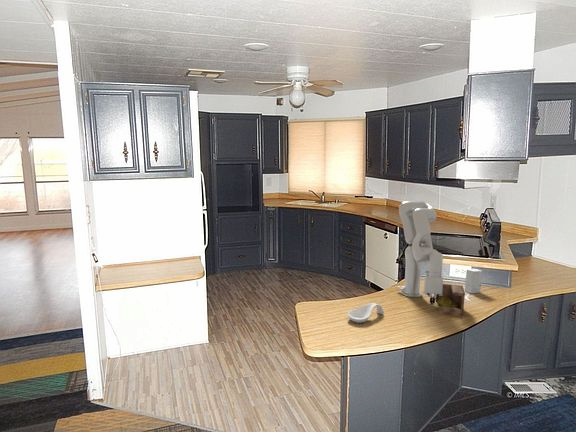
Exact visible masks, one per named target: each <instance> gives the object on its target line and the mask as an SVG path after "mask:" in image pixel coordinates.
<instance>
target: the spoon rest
mask: <svg viewBox="0 0 576 432" xmlns="http://www.w3.org/2000/svg"><path fill="white" fill-rule="evenodd" d="M375 307H376V313H378V314H379V315H381V314H382V315H384V314H385V313H384V309H383V307H382V305H380V304H377V303H375V302H370V303H367V304H366V305H363V306H360V307H358V308H355V309H352V310H350V311H348V313H347V317H348V318H349V320H351V321H352V322H354V323H357V324H359V323H360V324H361V323H362V322H363V323H365V322H366V321H368V320H369V319H370V317H371V315H372V312H373V310H374V309H375Z"/></svg>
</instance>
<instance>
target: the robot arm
mask: <svg viewBox="0 0 576 432" xmlns="http://www.w3.org/2000/svg"><path fill="white" fill-rule="evenodd" d="M398 214H399V217H400V221H401V223H402V227H403V228H402V229H403V233H404V234H403V235H404V239H405V242H406V244H409V246H407V247H406V248H405V249H404V250H405V251H404V253H405V254H404V255H405V256H404V257H405V271H404V274H405V275H404V285H402V286H400V285H397V286H396V290H398V291H401V295H403V296H405V297H409V298H421V297H422V295H423V294H425V295H427V296H428V297H429V303H430V305H431V306H434V304H436V297H438V296H442V295H443V284H444V277H443V274H442V271H443V264H444V263H443V260H444V255H443V253H442V252H439V251H438V250H437V249H434V247H433V242H432V241H433V240H432V235H431V233H432V230H431V225H430V223H431V222H435V221H436V220H437V215H438V214H437V212H436V210H435V209H434V207H432V205H431V204H429V203H428V202H426V201H424V200H407V201H406V200H405V201H402V202H401V203H400V204H399V206H398ZM420 263H428V267H427V270H425V271H424V273H425V274H426V276H425V279H424V286H423V293H422V292H421V291H420V290H421V278H422V277H421V276H422V266H421V264H420Z"/></svg>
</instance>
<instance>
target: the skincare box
mask: <svg viewBox="0 0 576 432" xmlns="http://www.w3.org/2000/svg"><path fill="white" fill-rule="evenodd" d="M482 275H483V270H480V269H478V268H471V269H470V268H467V269H466V274H465V285H464V292H465V293H466V292H467V293H469V294H476V293H477V294H478V293H481V288H482V287H481V286H482V277H483V276H482Z"/></svg>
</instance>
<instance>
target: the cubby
mask: <svg viewBox="0 0 576 432" xmlns="http://www.w3.org/2000/svg"><path fill="white" fill-rule="evenodd" d="M443 295H445V296H447V297H448V298H450V299H451V300H452V301H453V302H455V303H456V304H457V305H458V307H459V309H457V308H449V307H441V306H439V315H445V316H446V315H447V316H451V317H453V316H454V317H460V318H462V317H463V316H464V310H465V309H464V308H465V307H464V306H465V298H466V291H465V287H464V286H463V285H460V284H459V285H458V284H450V283H449V284H448V283H443Z"/></svg>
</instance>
